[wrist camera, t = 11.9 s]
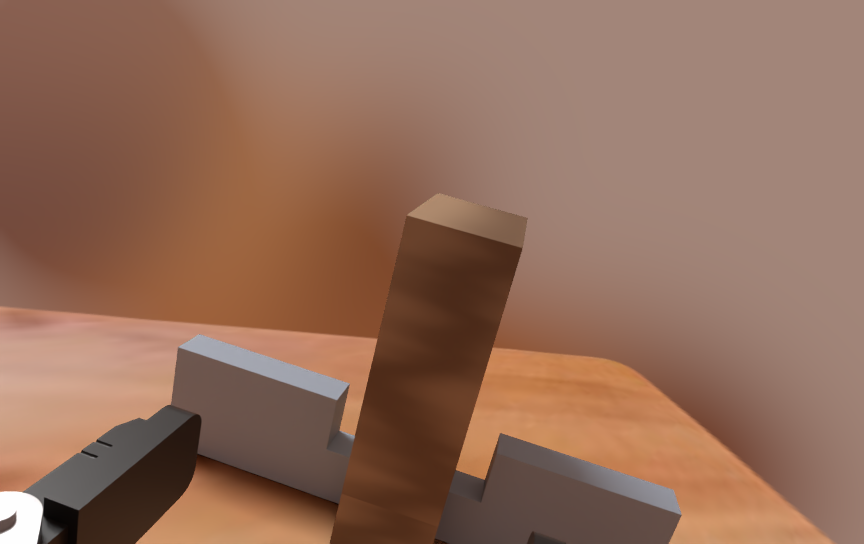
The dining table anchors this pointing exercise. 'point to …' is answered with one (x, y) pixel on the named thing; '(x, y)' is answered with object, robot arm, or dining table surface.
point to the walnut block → (427, 369)
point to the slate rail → (468, 496)
